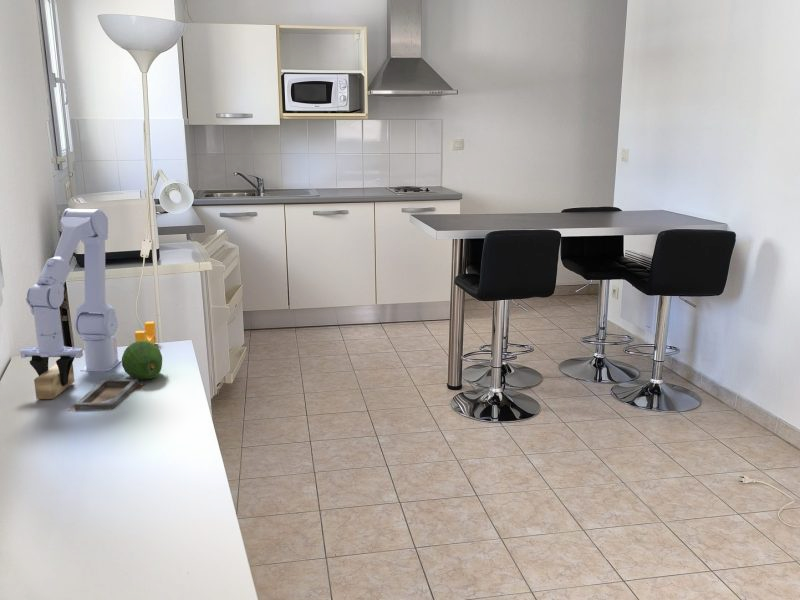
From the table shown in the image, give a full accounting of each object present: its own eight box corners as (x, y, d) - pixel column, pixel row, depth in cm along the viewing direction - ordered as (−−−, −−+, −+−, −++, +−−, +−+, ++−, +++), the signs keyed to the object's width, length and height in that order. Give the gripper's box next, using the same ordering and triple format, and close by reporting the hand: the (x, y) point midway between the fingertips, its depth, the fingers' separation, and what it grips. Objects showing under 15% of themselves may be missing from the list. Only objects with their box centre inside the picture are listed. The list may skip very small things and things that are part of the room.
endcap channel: (98, 386, 184) (97, 378, 183) (145, 387, 184) (144, 378, 183) (67, 413, 167) (66, 405, 166) (119, 414, 167) (118, 405, 166)
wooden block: (59, 381, 186) (56, 363, 184) (74, 381, 186) (72, 363, 184) (36, 399, 174) (34, 379, 173) (53, 399, 174) (50, 379, 173)
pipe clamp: (142, 341, 222) (140, 321, 221) (156, 341, 222) (154, 321, 221) (130, 354, 211) (128, 332, 209) (145, 353, 211) (143, 332, 209)
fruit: (170, 385, 185) (167, 348, 183) (129, 391, 181) (126, 353, 178) (158, 368, 198) (155, 333, 196) (120, 373, 193) (117, 338, 191)
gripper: (11, 336, 172) (18, 390, 176) (71, 337, 172) (77, 390, 176) (25, 328, 179) (32, 380, 182) (84, 328, 179) (89, 380, 182)
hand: (55, 384), depth 179 cm, fingers closed on wooden block, 4 cm apart
